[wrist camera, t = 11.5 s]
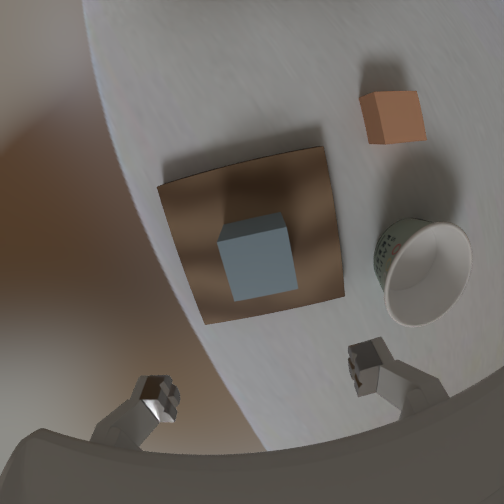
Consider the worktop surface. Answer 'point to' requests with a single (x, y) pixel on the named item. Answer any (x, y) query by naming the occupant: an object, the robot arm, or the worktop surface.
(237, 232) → the slate block
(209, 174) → the walnut board
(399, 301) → the food container
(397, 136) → the terracotta block
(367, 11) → the worktop surface
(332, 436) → the worktop surface
